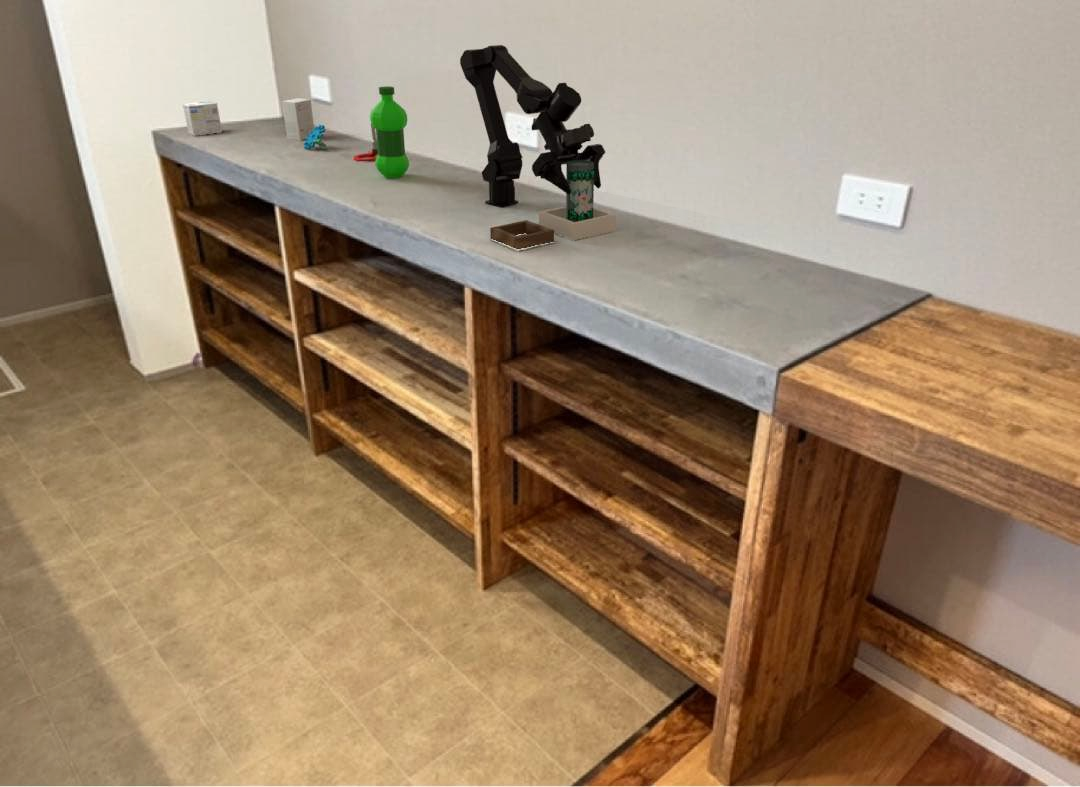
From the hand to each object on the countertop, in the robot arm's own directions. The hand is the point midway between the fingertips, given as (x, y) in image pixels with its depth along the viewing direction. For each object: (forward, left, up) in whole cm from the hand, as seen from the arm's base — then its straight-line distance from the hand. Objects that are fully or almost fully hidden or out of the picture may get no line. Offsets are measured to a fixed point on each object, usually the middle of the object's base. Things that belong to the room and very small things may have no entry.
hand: (585, 190), depth 193 cm
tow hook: (-102, +15, -10) cm, 104 cm away
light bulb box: (-180, +1, -10) cm, 181 cm away
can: (-2, 0, -9) cm, 9 cm away
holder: (-5, -16, -10) cm, 19 cm away
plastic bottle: (-77, +5, -10) cm, 78 cm away
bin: (-2, 0, -10) cm, 10 cm away
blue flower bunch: (-128, +13, -10) cm, 129 cm away
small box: (-147, +20, -10) cm, 149 cm away
